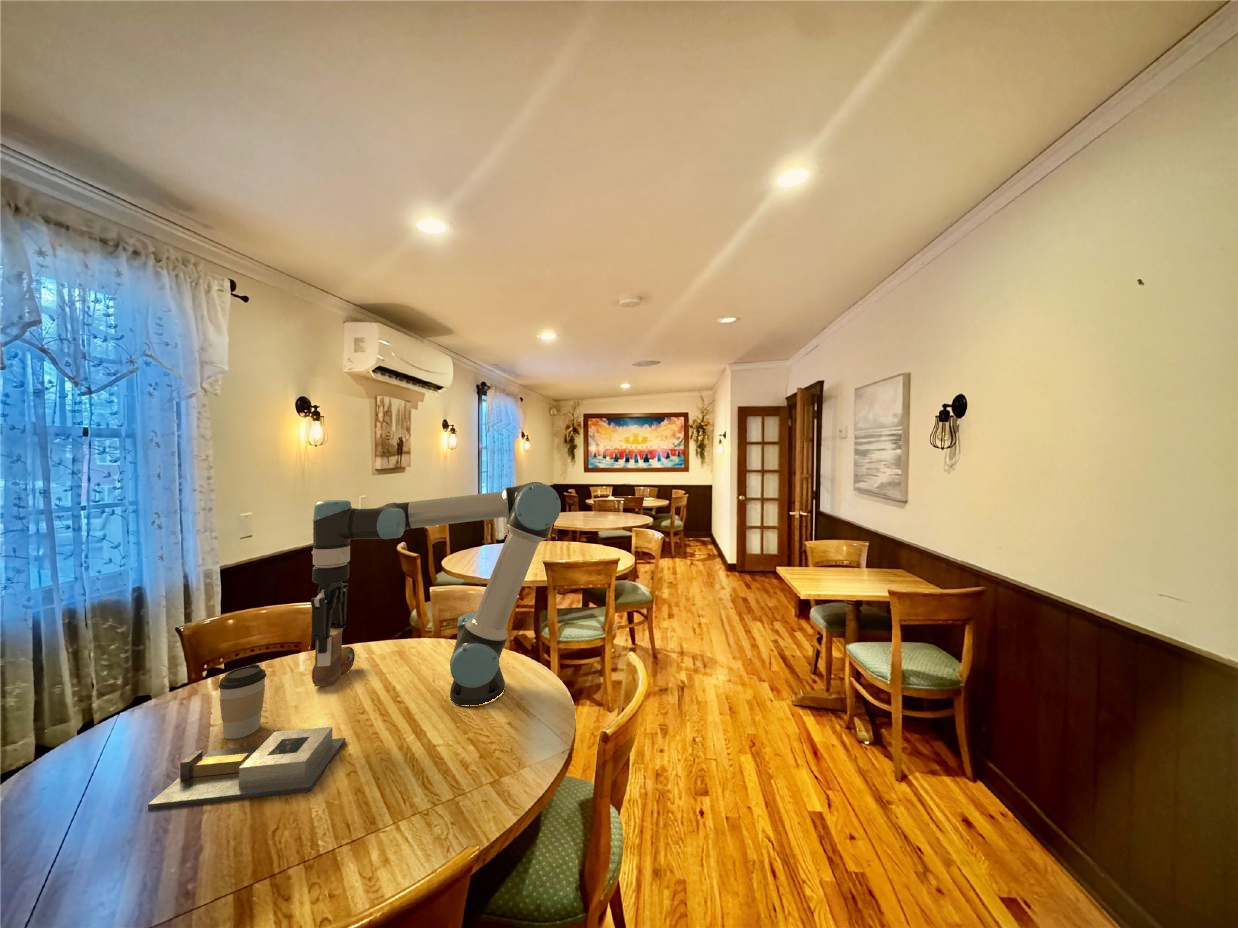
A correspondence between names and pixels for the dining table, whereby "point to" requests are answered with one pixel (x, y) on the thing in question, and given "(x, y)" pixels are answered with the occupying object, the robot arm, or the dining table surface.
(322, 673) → the peg
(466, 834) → the dining table surface
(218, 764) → the pin
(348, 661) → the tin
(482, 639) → the robot arm
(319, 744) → the dock
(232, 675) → the coffee cup
